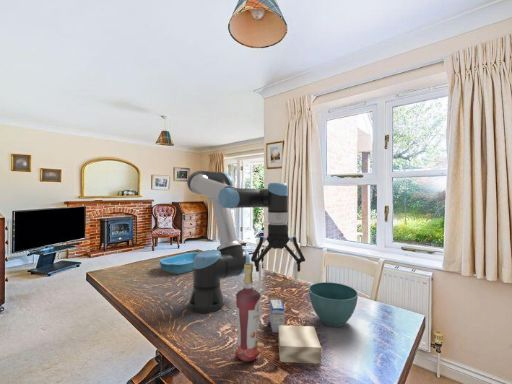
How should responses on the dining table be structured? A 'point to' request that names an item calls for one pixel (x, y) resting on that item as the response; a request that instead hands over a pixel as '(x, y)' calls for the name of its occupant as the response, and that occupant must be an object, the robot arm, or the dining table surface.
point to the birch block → (298, 344)
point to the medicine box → (276, 314)
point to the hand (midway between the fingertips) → (277, 280)
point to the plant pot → (333, 302)
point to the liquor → (247, 317)
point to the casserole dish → (178, 263)
